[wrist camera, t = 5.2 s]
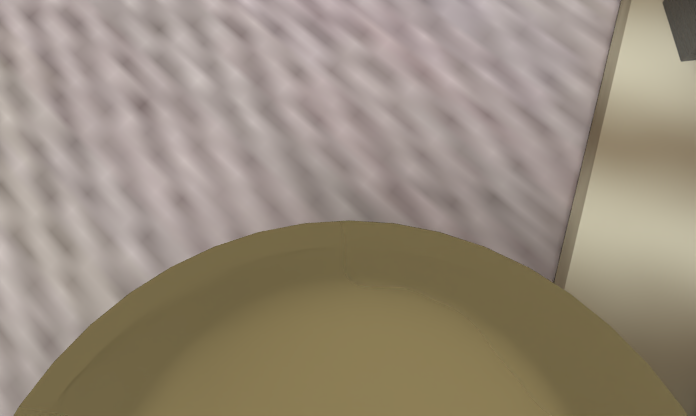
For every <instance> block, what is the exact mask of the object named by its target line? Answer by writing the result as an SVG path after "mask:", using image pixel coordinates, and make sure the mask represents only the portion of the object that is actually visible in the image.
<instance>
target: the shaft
mask: <svg viewBox="0 0 696 416" xmlns="http://www.w3.org/2000/svg"><path fill="white" fill-rule="evenodd" d="M662 3H663V6H664V10H665V13H666V16H667V19H668V22H669V25H670V29H671V32H672V35H673V38H674V41H675V45H676V48H677V51H678V54H679V57H680V60H681V62H683V61H693V60H696V0H664V1H663V2H662Z"/></svg>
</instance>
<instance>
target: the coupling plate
mask: <svg viewBox="0 0 696 416" xmlns="http://www.w3.org/2000/svg"><path fill="white" fill-rule="evenodd" d="M663 1H664V0H621V4H620V8H619V12H618V17H617V21H616V25H615V29H614V33H613V37H612V42H611V46H610V50H609V54H608V58H607V63H606V67H605V71H604V75H603V79H602V84H601V88H600V92H599V96H598V100H597V105H596V109H595V113H594V117H593V121H592V126H591V130H590V134H589V138H588V142H587V146H586V151H585V155H584V159H583V163H582V167H581V172H580V176H579V180H578V184H577V188H576V193H575V197H574V201H573V205H572V209H571V214H570V218H569V222H568V226H567V230H566V235H565V239H564V243H563V247H562V251H561V255H560V260H559V264H558V268H557V272H556V276H555V281H554V284H556V285H557V286H559V287H560V288H562V289H564V290H565V291H567V292H568V293H570V294H571V295H573V296H574V297H575V298H576V299H578V300H579V301H580V302H581V303H583V304H584V305H585V306H586V307H588V308H589V309H590V310H591V311H593V312H594V313H595V314H596V315H598V316H599V317H600V318H601V319H603V320H604V321H605V322H606V323H608V324H609V325H610V326H611V327H612V328H613V329H614V330H615V331H616V332H617V333H618V334H619V335H620V336H621V337H622V338H623V339H624V340H625V341H626V342H627V343H628V344H629V345H630V346H631V347H632V348H633V349H634V350H635V351H636V352H637V353H638V354H639V355H640V356H641V357H642V358H643V359H644V360H645V361H646V362H647V363H648V364H649V365H650V367H651V368H652V369H653V371H654V372H655V373H656V374H657V376H658V377H659V378H660V379H661V381H662V382H663V383H664V384H665V386H666V387H667V388H668V390H669V391H670V392H671V393H672V395H673V396H674V397H675V398H676V400H677V401H678V402H679V403H680V405H681V406H682V407H683V409H684V410H685V412H686V413H687V415H688V416H696V60H693V61H683V62H681V60H680V57H679V54H678V51H677V48H676V45H675V41H674V38H673V35H672V32H671V29H670V25H669V22H668V19H667V16H666V13H665V10H664V6H663V3H662V2H663Z"/></svg>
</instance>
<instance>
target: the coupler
mask: <svg viewBox="0 0 696 416" xmlns="http://www.w3.org/2000/svg"><path fill="white" fill-rule="evenodd" d="M14 416H688V415H687V413H686V412H685V410H684V409H683V407H682V406H681V405H680V403H679V402H678V401H677V400H676V398H675V397H674V396H673V395H672V393H671V392H670V391H669V390H668V388H667V387H666V386H665V384H664V383H663V382H662V381H661V379H660V378H659V377H658V376H657V374H656V373H655V372H654V371H653V369H652V368H651V367H650V365H649V364H648V363H647V362H646V361H645V360H644V359H643V358H642V357H641V356H640V355H639V354H638V353H637V352H636V351H635V350H634V349H633V348H632V347H631V346H630V345H629V344H628V343H627V342H626V341H625V340H624V339H623V338H622V337H621V336H620V335H619V334H618V333H617V332H616V331H615V330H614V329H613V328H612V327H611V326H610V325H609V324H608V323H606V322H605V321H604V320H603V319H601V318H600V317H599V316H598V315H596V314H595V313H594V312H593V311H591V310H590V309H589V308H588V307H586V306H585V305H584V304H583V303H581V302H580V301H579V300H578V299H576V298H575V297H574V296H573V295H571V294H570V293H568V292H567V291H565V290H564V289H562V288H560V287H559V286H557V285H556V284H554V283H552V282H551V281H549V280H548V279H546V278H544V277H543V276H541V275H540V274H538V273H536V272H535V271H533V270H532V269H530V268H528V267H526V266H524V265H522V264H520V263H518V262H516V261H514V260H512V259H509V258H507V257H505V256H503V255H501V254H499V253H497V252H494V251H492V250H490V249H488V248H486V247H484V246H480V245H477V244H474V243H471V242H468V241H465V240H462V239H459V238H456V237H453V236H450V235H447V234H444V233H441V232H436V231H431V230H426V229H420V228H415V227H410V226H405V225H399V224H394V223H378V222H362V221H336V222H320V223H305V224H299V225H293V226H288V227H283V228H278V229H273V230H268V231H263V232H258V233H255V234H252V235H249V236H246V237H243V238H239V239H236V240H233V241H230V242H227V243H224V244H221V245H218V246H215V247H213V248H211V249H208V250H206V251H204V252H202V253H200V254H198V255H196V256H194V257H191V258H189V259H187V260H185V261H183V262H181V263H179V264H177V265H175V266H172V267H171V268H169V269H167V270H166V271H164V272H163V273H161V274H159V275H158V276H156V277H155V278H153V279H151V280H150V281H148V282H147V283H145V284H143V285H142V286H140V287H139V288H137V289H136V290H134V291H132V292H131V293H129V294H128V295H127V296H126V297H124V298H123V299H122V300H121V301H119V302H118V303H117V304H116V305H114V306H113V307H112V308H111V309H110V310H108V311H107V312H106V313H105V314H103V315H102V316H101V317H100V318H98V319H97V320H96V321H95V322H93V323H92V324H91V325H90V326H89V327H88V328H87V329H86V330H85V331H84V332H83V333H82V334H81V335H80V336H79V337H78V338H77V339H76V340H75V341H74V342H73V343H72V344H71V345H70V346H69V347H68V348H67V349H66V350H65V351H64V352H63V353H62V354H61V355H60V356H59V357H58V358H57V359H56V360H55V361H54V363H53V364H52V365H51V366H50V368H49V369H48V370H47V371H46V373H45V374H44V375H43V377H42V378H41V379H40V380H39V382H38V383H37V384H36V385H35V387H34V388H33V389H32V391H31V392H30V393H29V394H28V396H27V397H26V398H25V400H24V401H23V402H22V403H21V405H20V406H19V408H18V409H17V411H16V412H15V414H14Z"/></svg>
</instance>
